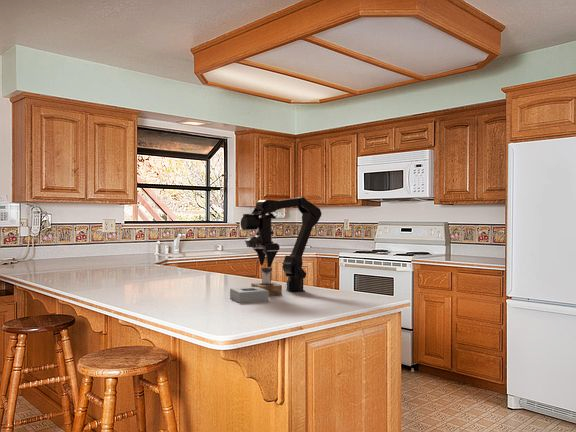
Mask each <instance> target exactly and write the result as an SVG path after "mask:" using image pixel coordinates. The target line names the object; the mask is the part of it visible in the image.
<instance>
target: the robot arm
mask: <svg viewBox="0 0 576 432" xmlns="http://www.w3.org/2000/svg"><path fill="white" fill-rule="evenodd" d="M295 207H297V210H298V211H299V212H300V213H301V214H302V215H301V222H302V224H301V226H300V229H299V232H298V235H297V237H296V240H295V244H294V246H293V249H292V252H290V254H289V255H285V256H284V259H283V262H282V264H281V265H282V270H283V272H284V273H285V277H287V280H286V290H285V291H287V292H290V293H303V292H306V290H304V279H305V278H306V277H307V272H306V271H305V270H304V269H303V264H304V263H303V255H304V252H305V250H306V247H307V244H308V242H309V239H310V236H311V233H312V231H313V227H315V226H316V225H317V224H318V223H319V221H320V219H321V217H322V211H321V208H319V207H318V206H316V205H315V204H313V203H311V202H310V201H309V200H308V199H306V198H305V197H303V196H296V197H294V198H287V199H286V198H285V199H280V200H279V199H278V200H274V199H273V200H272V199H261V200H258V201H257V202H256V204H255V206H254V209H253V211H252V212H251V214H250V213H243V214H242V217H241V220H240V227H241V230H243V231H254V230H255V231H256V230H258V231H256V232H255V235H253V236H251V237H248V238H245V240H244V242H245V245H246V248H252V250H253V251H254V252H256V255H257V258H258V261H259V265H260V266H262V265H264V263H265V259H266V264H267V266H266V267H270V268H272V267H271V266H272V264H273V262H274V259H275V258H276V257H277V256H276V255H277V254H278V252H279V251H280V244H278V243H276V242H274V241H273V240H272V235H274V231H273V230H272V229H273V228H272V220H273V219H275V220H276V218H277V216H276V215H275V214H273V213H274V212H276V211H278V210H281V209H289V208H295Z"/></svg>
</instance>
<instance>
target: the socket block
mask: <svg viewBox="0 0 576 432" xmlns="http://www.w3.org/2000/svg"><path fill="white" fill-rule="evenodd" d="M229 298H230V300H232V301H235V302H236V303H239V304H245V303H260V302H269V301H270V299H269V298H270V295H269V291H268V290H265V289H262V288H260V287H251V286H249V287H247V286H246V287H230V288H229Z"/></svg>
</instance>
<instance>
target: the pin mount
mask: <svg viewBox="0 0 576 432" xmlns="http://www.w3.org/2000/svg"><path fill="white" fill-rule="evenodd" d="M250 285H251V286H250V287H260V288H262V289H265V290H268V291H269V296H282V295H283V292H282V291H283V287H282V286H283V285H282V284H279V283H276V282H272V281H271V285H262V282H254V283H251V284H250Z"/></svg>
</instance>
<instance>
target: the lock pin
mask: <svg viewBox="0 0 576 432" xmlns="http://www.w3.org/2000/svg"><path fill="white" fill-rule="evenodd" d="M260 269H261V270H260V271H261V283H262V285H271V282H272V271H273V267H268V266H266V267H261V268H260Z"/></svg>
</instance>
